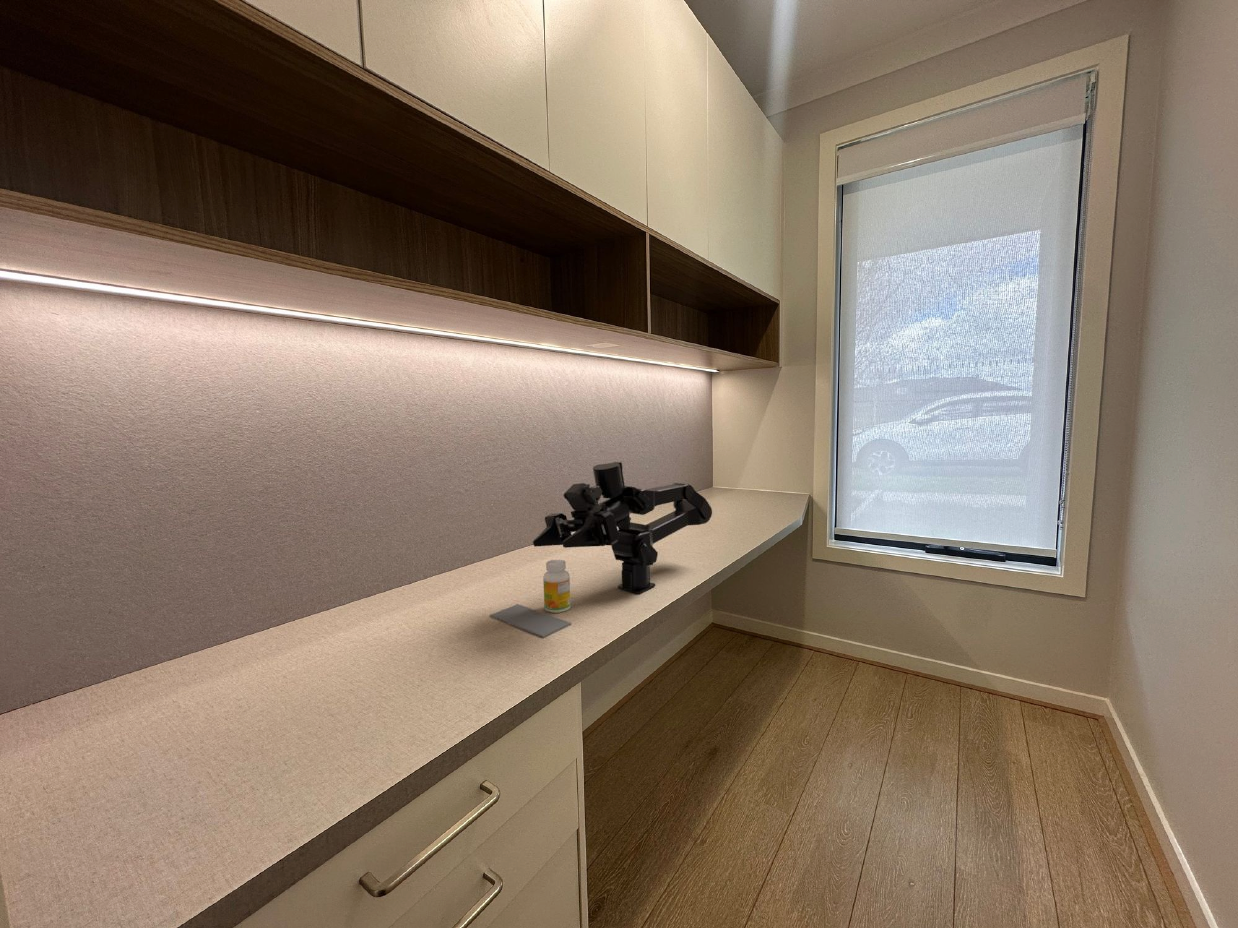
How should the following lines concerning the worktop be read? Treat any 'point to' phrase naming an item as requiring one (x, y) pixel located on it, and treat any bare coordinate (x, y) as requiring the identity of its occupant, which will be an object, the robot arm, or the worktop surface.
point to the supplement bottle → (556, 587)
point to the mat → (530, 620)
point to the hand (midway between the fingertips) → (547, 544)
